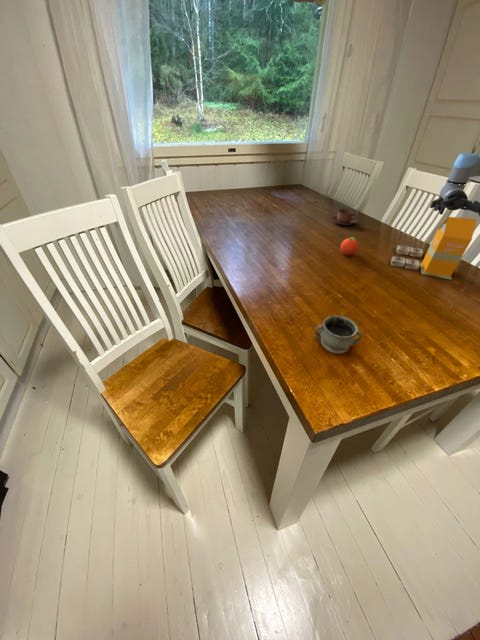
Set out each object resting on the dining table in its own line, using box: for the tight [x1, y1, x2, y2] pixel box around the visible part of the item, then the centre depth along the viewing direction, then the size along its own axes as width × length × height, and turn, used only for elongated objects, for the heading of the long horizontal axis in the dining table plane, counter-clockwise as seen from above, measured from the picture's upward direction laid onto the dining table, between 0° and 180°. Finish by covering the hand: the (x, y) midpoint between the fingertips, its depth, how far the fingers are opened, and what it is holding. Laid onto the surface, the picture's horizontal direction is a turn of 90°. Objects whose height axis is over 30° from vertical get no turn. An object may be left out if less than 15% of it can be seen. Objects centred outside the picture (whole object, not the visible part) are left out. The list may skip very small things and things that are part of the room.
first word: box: [396, 245, 424, 258], centre depth 117 cm, size 10×4×2 cm, turn 66°
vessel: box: [313, 314, 363, 354], centre depth 71 cm, size 12×9×6 cm
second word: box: [390, 255, 453, 281], centre depth 107 cm, size 21×10×2 cm, turn 66°
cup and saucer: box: [332, 208, 358, 226], centre depth 144 cm, size 12×12×6 cm
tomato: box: [340, 236, 359, 256], centre depth 114 cm, size 8×7×7 cm
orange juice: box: [421, 216, 478, 277], centre depth 99 cm, size 8×9×20 cm
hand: (463, 213), depth 101 cm, fingers open, 13 cm apart
